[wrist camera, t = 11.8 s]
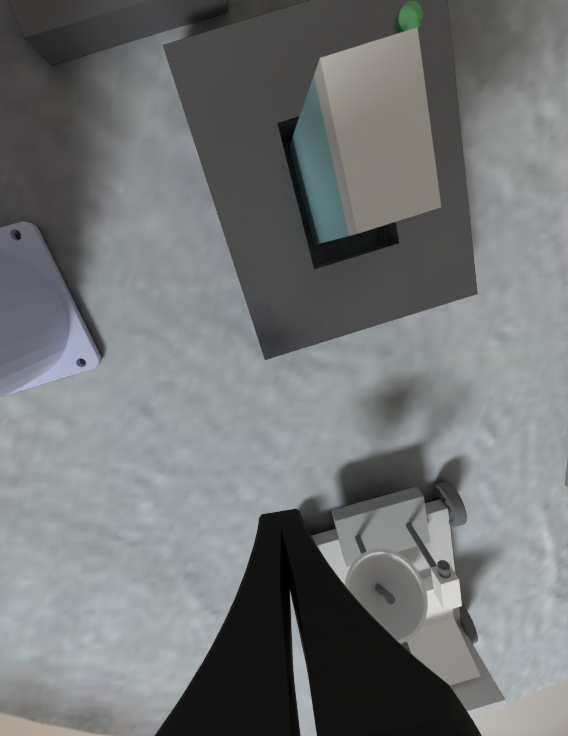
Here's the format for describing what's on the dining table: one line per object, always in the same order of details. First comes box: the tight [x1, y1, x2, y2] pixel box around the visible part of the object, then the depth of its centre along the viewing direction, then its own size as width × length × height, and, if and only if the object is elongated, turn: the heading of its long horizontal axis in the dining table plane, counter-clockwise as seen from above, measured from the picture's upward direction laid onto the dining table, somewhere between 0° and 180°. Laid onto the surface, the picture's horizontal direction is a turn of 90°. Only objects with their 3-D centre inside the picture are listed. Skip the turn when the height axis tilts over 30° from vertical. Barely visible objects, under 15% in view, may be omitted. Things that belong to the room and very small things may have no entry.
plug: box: [289, 27, 441, 245], centre depth 14 cm, size 3×5×8 cm, turn 16°
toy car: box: [304, 481, 506, 719], centre depth 22 cm, size 18×10×12 cm
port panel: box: [163, 0, 477, 360], centre depth 17 cm, size 12×14×3 cm
